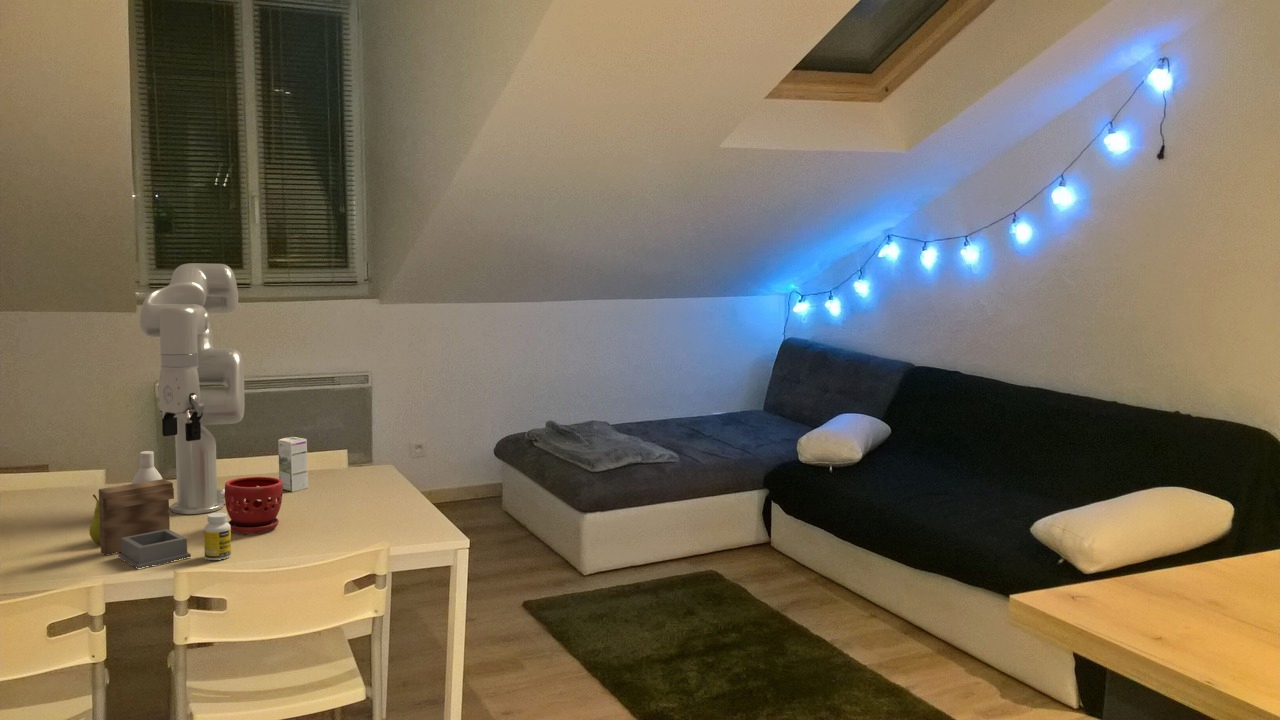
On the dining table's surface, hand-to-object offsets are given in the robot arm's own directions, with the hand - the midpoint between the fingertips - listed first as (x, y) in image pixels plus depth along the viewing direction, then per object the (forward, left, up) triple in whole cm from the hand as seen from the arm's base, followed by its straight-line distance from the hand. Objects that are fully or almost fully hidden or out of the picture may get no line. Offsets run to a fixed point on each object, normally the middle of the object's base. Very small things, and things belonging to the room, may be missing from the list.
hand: (181, 437), depth 218 cm
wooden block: (+7, -7, -26) cm, 28 cm away
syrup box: (-45, -33, -26) cm, 62 cm away
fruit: (+11, -16, -26) cm, 33 cm away
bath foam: (+1, -16, -26) cm, 31 cm away
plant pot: (-19, -4, -26) cm, 32 cm away
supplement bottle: (-3, +11, -26) cm, 28 cm away
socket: (+7, +2, -26) cm, 27 cm away
